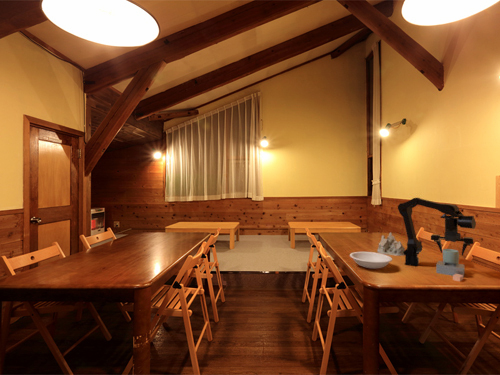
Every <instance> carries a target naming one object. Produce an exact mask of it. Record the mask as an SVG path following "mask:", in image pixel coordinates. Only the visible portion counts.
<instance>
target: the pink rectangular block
mask: <svg viewBox="0 0 500 375" xmlns="http://www.w3.org/2000/svg"><path fill="white" fill-rule="evenodd" d="M463 280H464V278H463V275H460V274H455V275H453V276H452V281H455V282H456V281H457V282H462V281H463Z"/></svg>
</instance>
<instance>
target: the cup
mask: <svg viewBox="0 0 500 375" xmlns="http://www.w3.org/2000/svg"><path fill="white" fill-rule="evenodd" d="M442 261H444V262H450V263H457V264H460V263H459V262H460V251H459V250H457V249H453V248H442Z"/></svg>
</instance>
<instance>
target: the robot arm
mask: <svg viewBox="0 0 500 375" xmlns="http://www.w3.org/2000/svg"><path fill="white" fill-rule="evenodd" d="M416 206H422V207H426V208H430V209H433V210H437V211H438V212H441V213H442V215H441V216H440V217H439V218H440V219H444V235H443V236H442V235H441V234H436V233H435V234H434V233H432V234H431V235H430V241H433V243H436V244H437V246H438V248H439V251H440V253H442V254H443V244H442V240H443V241H445V242H452V243H456V242H463V243H462V250H461V256H464V253H465V251H466V249H467V248H468V246H471V245H474V237H469V236H463V237H461V236H462V235H461V233H460V232H459V228H463V229H472V230H474V229H476V226H477V222H476V219H475V216H474V215H464V214H463V212H462V211H461V210H460V208H459V207H458V205H457V204H452V203H441V202H436V201H431V200H428V199H423V198H421V197H414V198H411V199H410V200H408V201H406V202H401V203H399V204H398V205H397V210H398V212H399V214H400V215H401V217H402V219H403V224H404V227H405V232H406V236H407V241H406V242H407V243H406V248H405V250H404V251H403V253H404V258H405V262H404V265H406V266H407V265H408V266H413V267H417V266H419V263H420V262H419V260H420V259H419V257H418V256H419V255H420V253H421V251H423V244H422V241H421V240H419V239H418V238H417V235H416V229H415V225H414V221H413V217H412V214H413V208H415V207H416Z"/></svg>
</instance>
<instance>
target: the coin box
mask: <svg viewBox="0 0 500 375" xmlns="http://www.w3.org/2000/svg"><path fill="white" fill-rule="evenodd" d="M435 266H436V268H435V269H436V273H437V274H439V275H440V274H441V275H447V276H452V277H453V275H455V274H460V275H463V279H464V277H465V264H463V263H458V264H457V263H450V262H444V261H443V260H438V261H437V262H436V265H435Z"/></svg>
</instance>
